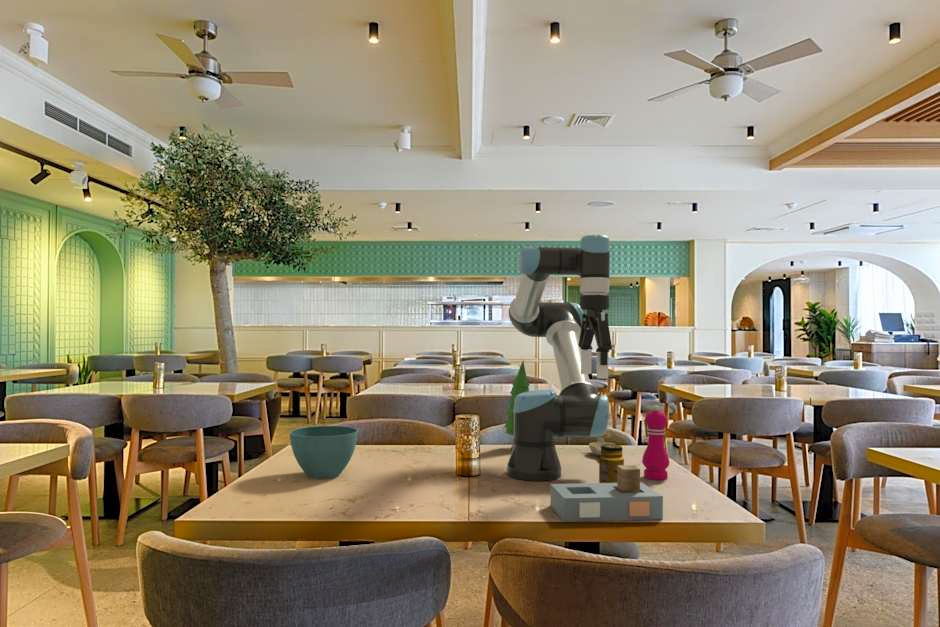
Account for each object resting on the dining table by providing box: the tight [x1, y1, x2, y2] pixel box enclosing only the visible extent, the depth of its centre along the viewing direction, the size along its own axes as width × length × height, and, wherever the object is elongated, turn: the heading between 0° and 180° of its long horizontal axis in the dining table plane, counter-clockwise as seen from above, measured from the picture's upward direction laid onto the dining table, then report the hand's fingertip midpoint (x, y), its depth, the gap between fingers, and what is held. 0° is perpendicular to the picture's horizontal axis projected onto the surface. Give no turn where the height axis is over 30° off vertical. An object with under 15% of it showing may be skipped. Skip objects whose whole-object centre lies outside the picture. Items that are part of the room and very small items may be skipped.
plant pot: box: [289, 425, 359, 480], centre depth 173 cm, size 18×18×12 cm
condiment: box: [598, 443, 625, 483], centre depth 158 cm, size 7×8×12 cm
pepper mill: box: [641, 404, 670, 481], centre depth 175 cm, size 7×7×20 cm
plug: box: [617, 464, 641, 493], centre depth 143 cm, size 4×4×10 cm
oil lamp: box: [588, 428, 617, 457], centre depth 204 cm, size 9×21×10 cm, turn 176°
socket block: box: [549, 481, 664, 523], centre depth 142 cm, size 22×13×5 cm, turn 97°
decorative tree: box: [503, 360, 530, 450], centre depth 213 cm, size 10×9×30 cm
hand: (594, 376), depth 165 cm, fingers open, 13 cm apart
